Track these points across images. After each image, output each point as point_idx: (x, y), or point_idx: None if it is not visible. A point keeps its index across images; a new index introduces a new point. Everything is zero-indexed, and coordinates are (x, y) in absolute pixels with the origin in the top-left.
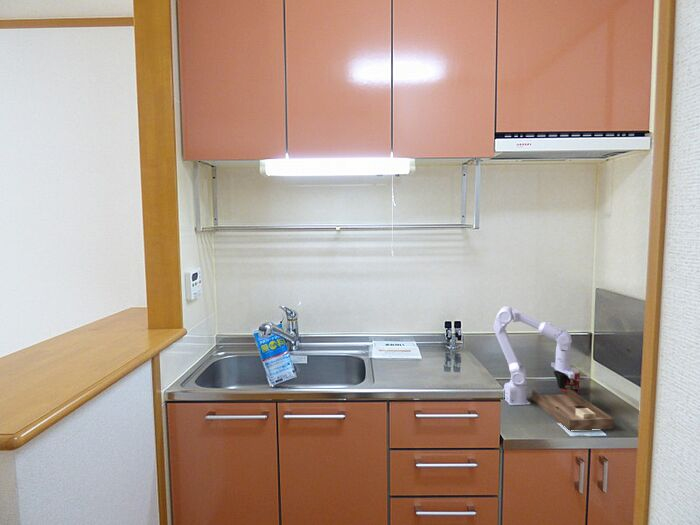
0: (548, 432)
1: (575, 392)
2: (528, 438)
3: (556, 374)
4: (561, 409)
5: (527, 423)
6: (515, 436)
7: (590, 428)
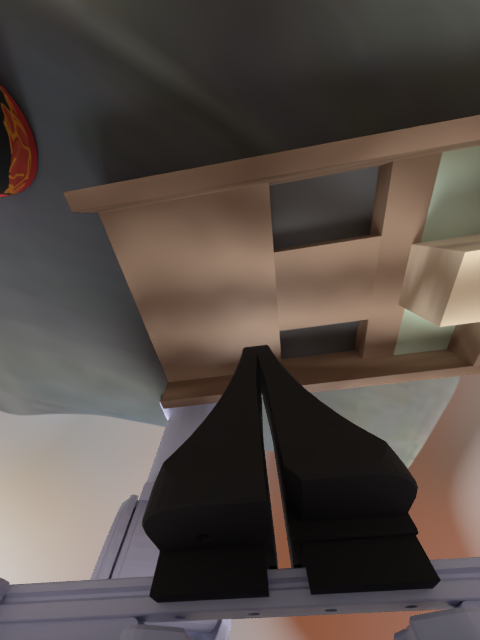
0: (414, 399)
1: (11, 108)
2: (423, 444)
3: (275, 545)
4: (305, 327)
5: None
6: (404, 461)
7: None
